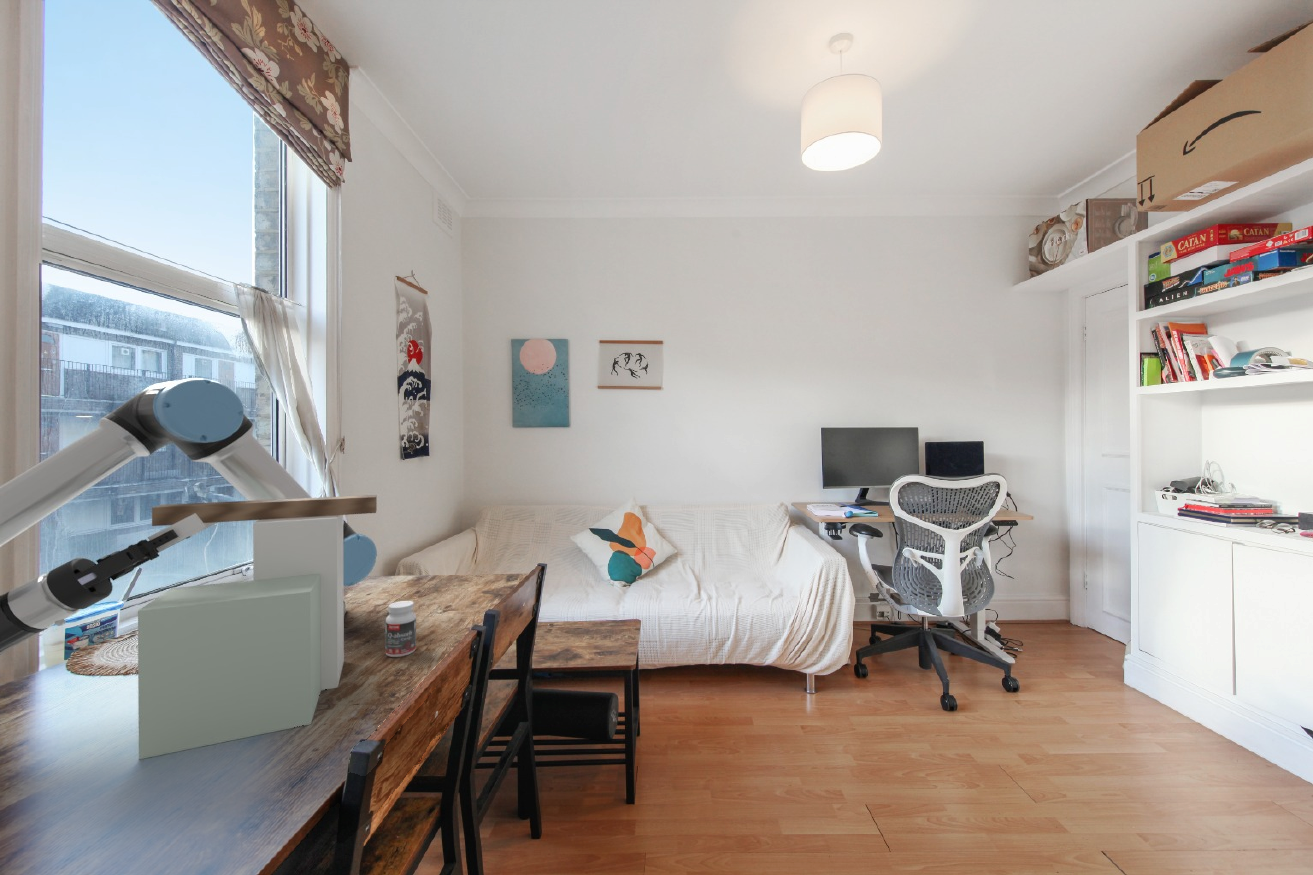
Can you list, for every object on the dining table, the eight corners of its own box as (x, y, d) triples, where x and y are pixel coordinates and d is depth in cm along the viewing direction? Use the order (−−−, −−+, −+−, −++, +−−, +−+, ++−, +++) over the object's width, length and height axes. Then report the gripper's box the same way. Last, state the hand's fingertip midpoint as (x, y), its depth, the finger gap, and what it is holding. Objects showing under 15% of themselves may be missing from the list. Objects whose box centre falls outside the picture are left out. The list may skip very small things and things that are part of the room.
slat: (152, 526, 85) (151, 507, 85) (161, 522, 89) (161, 504, 89) (375, 512, 99) (375, 497, 99) (376, 510, 103) (376, 494, 103)
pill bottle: (385, 660, 105) (385, 610, 105) (385, 649, 110) (385, 602, 110) (417, 654, 107) (416, 605, 107) (415, 644, 112) (415, 598, 112)
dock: (138, 759, 73) (137, 541, 73) (197, 685, 94) (196, 517, 94) (329, 720, 83) (329, 528, 82) (343, 661, 104) (343, 509, 104)
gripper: (120, 589, 94) (246, 521, 102) (32, 637, 72) (203, 546, 80) (90, 555, 93) (222, 489, 100) (-9, 593, 70) (170, 505, 78)
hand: (214, 514), depth 90 cm, fingers open, 13 cm apart
